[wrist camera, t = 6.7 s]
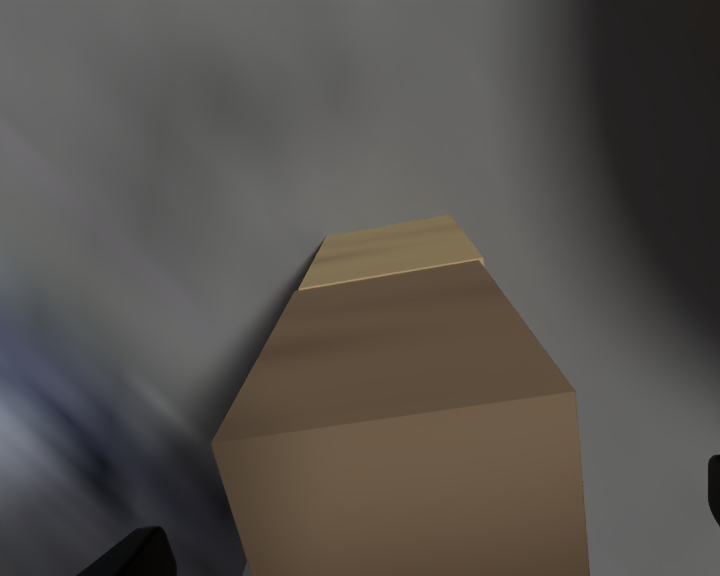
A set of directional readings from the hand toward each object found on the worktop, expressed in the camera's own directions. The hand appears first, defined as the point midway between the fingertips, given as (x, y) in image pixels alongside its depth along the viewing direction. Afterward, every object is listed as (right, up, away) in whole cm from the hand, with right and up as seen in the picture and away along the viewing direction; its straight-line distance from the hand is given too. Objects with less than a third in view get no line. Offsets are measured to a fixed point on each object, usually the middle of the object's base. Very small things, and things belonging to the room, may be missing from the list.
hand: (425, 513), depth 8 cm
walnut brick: (0, +1, +2) cm, 2 cm away
